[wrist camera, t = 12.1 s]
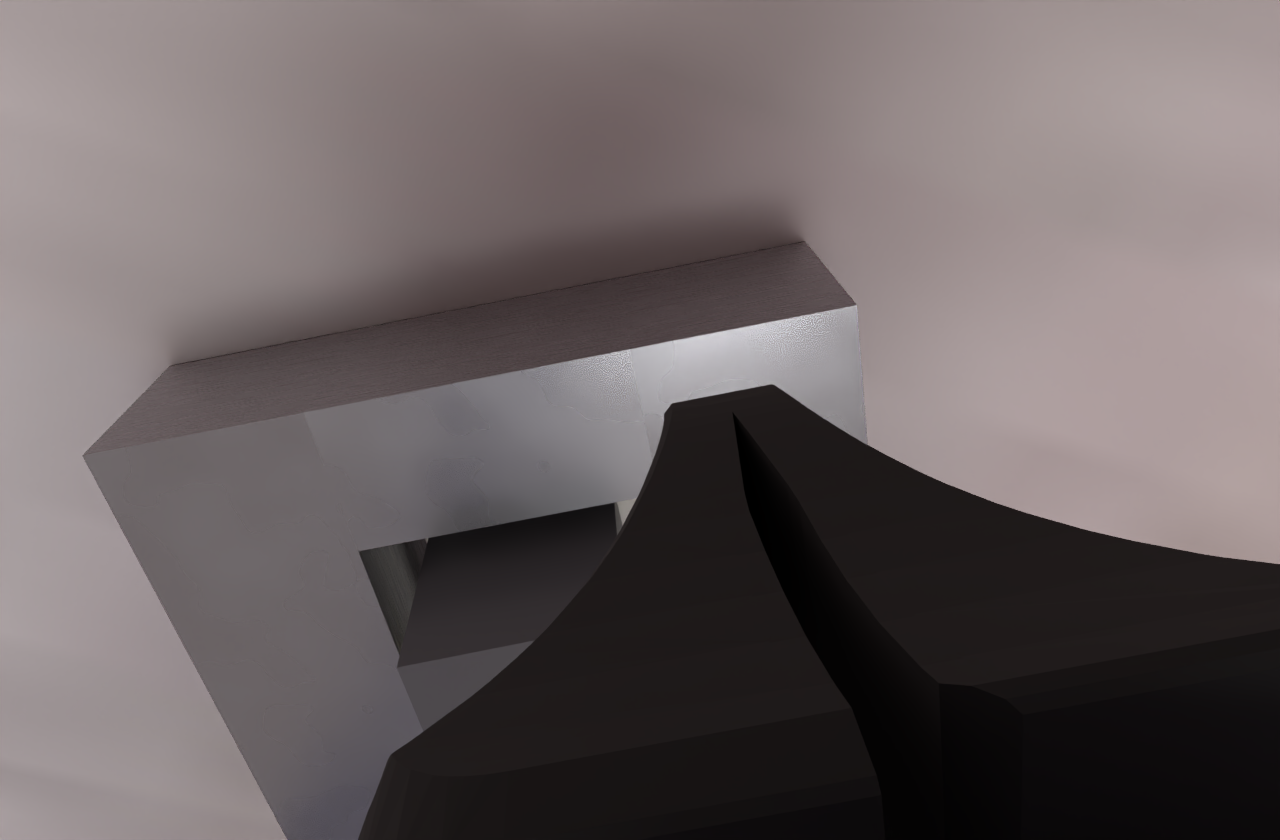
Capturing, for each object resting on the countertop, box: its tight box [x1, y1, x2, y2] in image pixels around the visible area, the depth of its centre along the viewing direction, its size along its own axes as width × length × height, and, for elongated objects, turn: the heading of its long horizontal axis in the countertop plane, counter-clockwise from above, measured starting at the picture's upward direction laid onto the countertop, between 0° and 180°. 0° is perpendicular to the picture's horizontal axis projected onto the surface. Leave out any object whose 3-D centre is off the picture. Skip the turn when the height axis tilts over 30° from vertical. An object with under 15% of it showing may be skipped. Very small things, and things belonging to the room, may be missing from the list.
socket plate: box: [83, 242, 867, 840], centre depth 21 cm, size 14×13×4 cm
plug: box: [397, 502, 623, 731], centre depth 19 cm, size 4×5×6 cm
